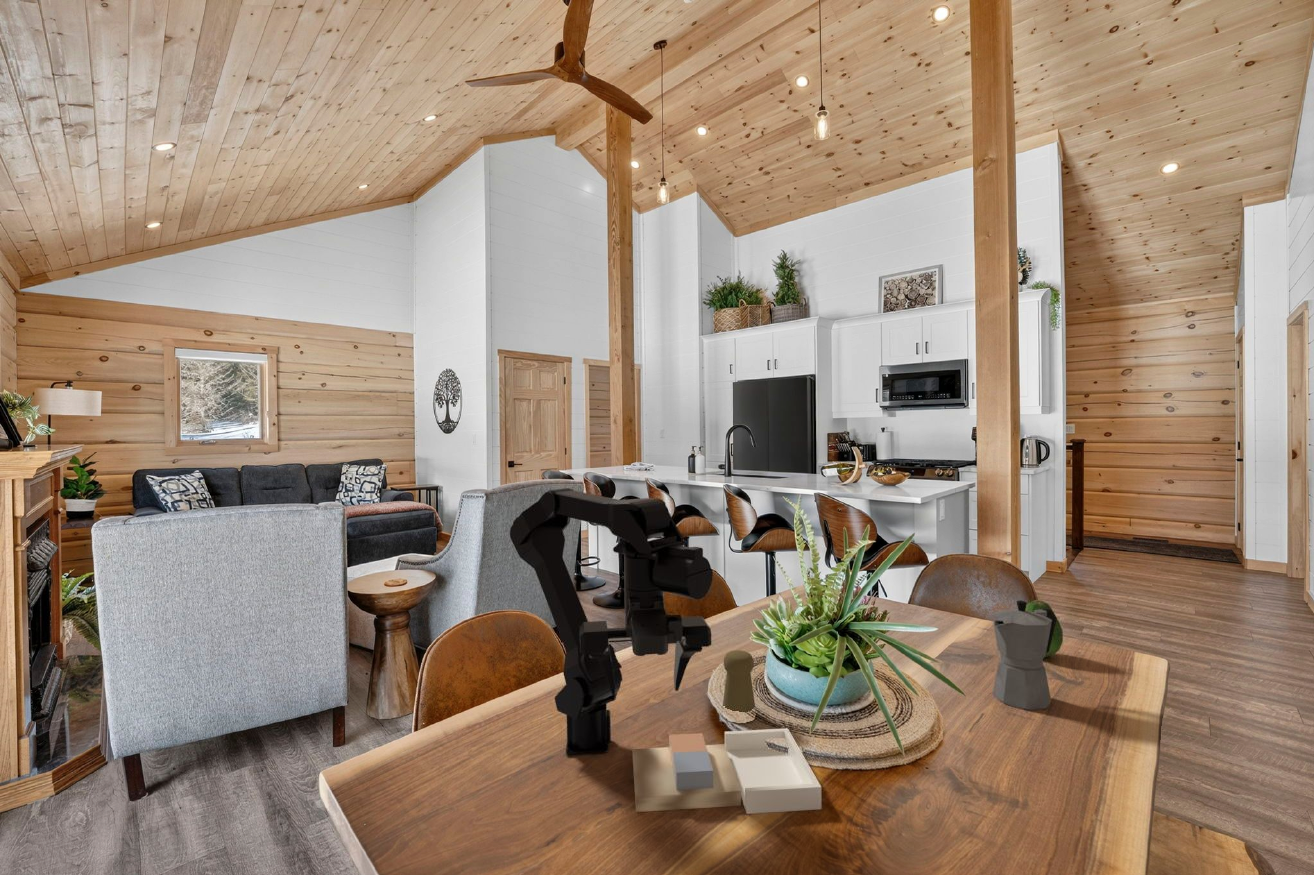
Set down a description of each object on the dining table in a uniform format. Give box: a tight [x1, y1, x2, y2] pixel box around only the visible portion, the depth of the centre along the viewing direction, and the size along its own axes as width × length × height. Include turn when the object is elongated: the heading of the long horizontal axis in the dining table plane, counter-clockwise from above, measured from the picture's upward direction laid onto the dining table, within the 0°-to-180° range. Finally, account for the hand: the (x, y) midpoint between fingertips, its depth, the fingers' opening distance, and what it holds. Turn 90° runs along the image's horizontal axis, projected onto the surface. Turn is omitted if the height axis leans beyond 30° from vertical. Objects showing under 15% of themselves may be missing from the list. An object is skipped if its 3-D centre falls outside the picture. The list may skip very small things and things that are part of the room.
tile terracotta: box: [668, 732, 707, 768], centre depth 91 cm, size 5×5×2 cm
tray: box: [724, 727, 822, 815], centre depth 90 cm, size 10×16×3 cm, turn 4°
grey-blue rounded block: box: [673, 751, 713, 790], centre depth 86 cm, size 5×5×2 cm
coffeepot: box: [991, 599, 1058, 711], centre depth 113 cm, size 15×9×18 cm, turn 113°
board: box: [632, 743, 742, 813], centre depth 89 cm, size 14×12×2 cm
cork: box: [722, 649, 756, 712], centre depth 109 cm, size 6×6×11 cm
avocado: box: [1025, 599, 1064, 658], centre depth 133 cm, size 8×8×12 cm
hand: (645, 691), depth 91 cm, fingers open, 9 cm apart
